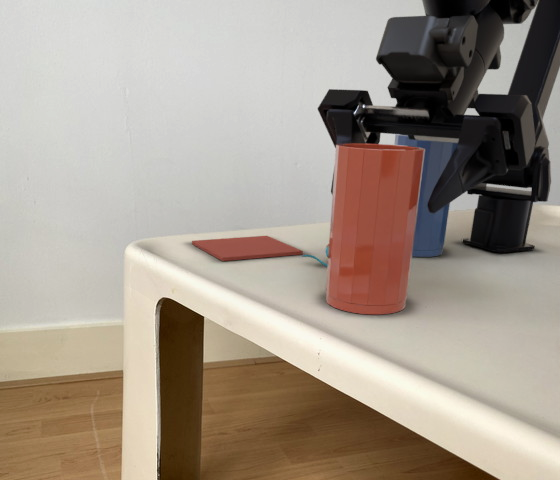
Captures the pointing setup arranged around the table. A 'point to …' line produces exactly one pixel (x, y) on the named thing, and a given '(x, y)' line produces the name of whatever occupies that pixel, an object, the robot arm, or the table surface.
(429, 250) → the blue cup
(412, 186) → the red cup
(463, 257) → the table surface
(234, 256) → the red mat
